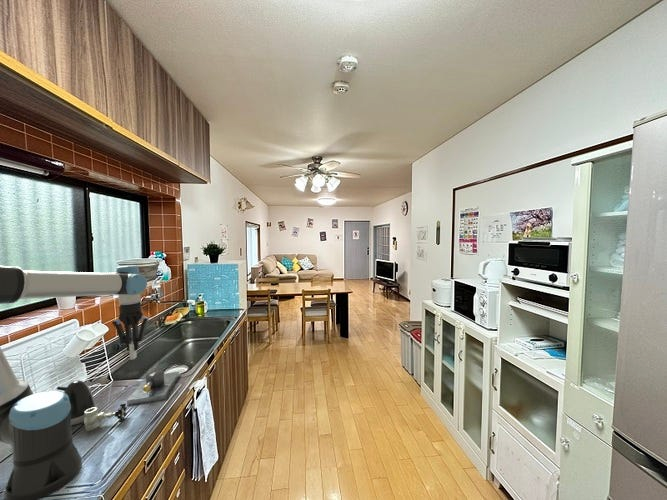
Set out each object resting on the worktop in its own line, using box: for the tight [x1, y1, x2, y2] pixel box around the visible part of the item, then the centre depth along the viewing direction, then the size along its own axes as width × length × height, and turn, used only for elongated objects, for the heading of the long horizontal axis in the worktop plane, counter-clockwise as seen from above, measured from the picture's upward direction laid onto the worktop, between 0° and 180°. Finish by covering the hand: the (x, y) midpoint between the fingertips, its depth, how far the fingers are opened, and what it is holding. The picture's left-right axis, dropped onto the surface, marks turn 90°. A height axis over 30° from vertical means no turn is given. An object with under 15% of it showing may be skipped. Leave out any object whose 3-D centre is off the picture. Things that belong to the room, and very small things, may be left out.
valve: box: [83, 402, 128, 432], centre depth 105 cm, size 7×7×12 cm
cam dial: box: [143, 369, 165, 392], centre depth 126 cm, size 16×7×5 cm, turn 15°
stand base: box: [126, 367, 180, 406], centre depth 129 cm, size 22×14×6 cm, turn 15°
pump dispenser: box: [56, 380, 96, 426], centre depth 107 cm, size 10×10×15 cm
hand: (133, 358), depth 120 cm, fingers closed
